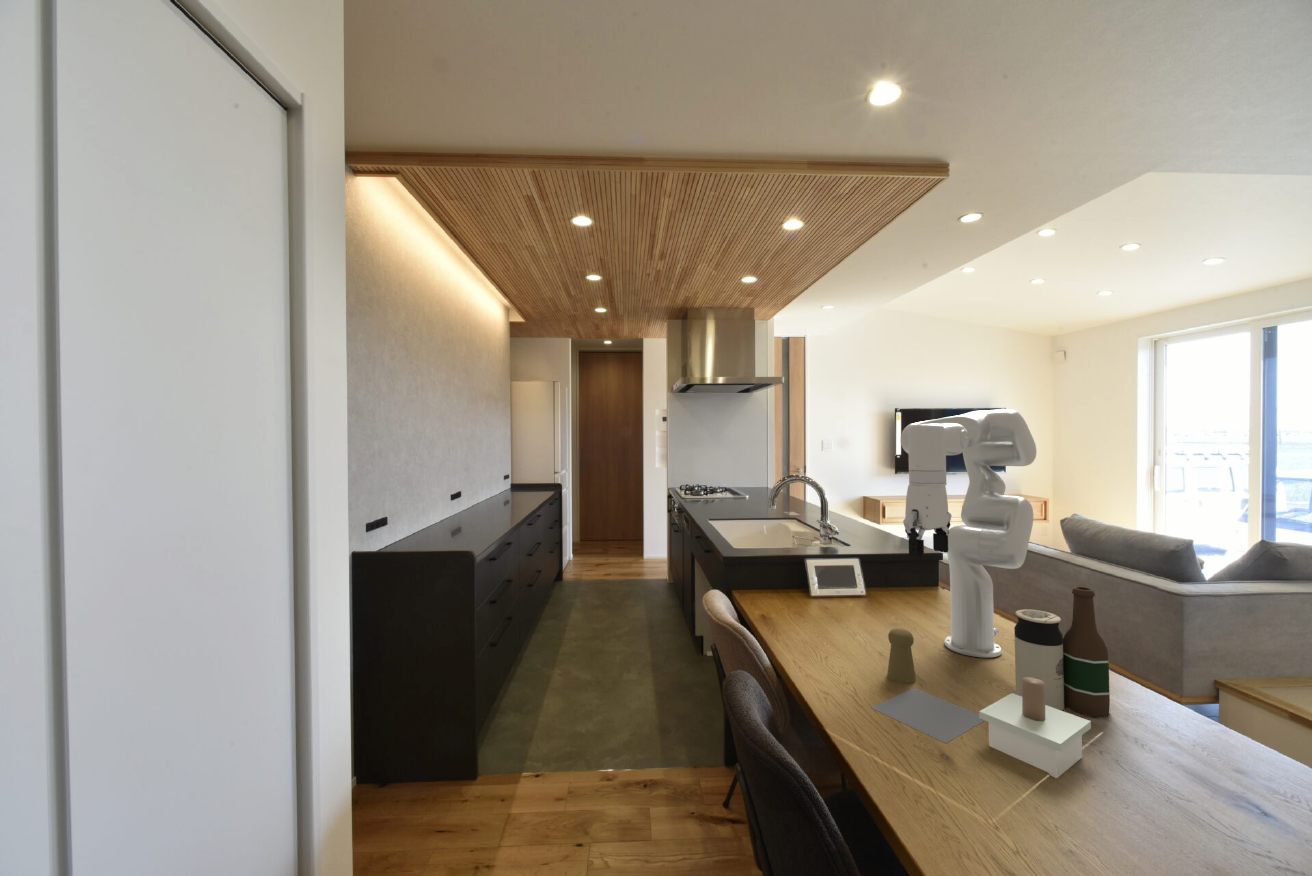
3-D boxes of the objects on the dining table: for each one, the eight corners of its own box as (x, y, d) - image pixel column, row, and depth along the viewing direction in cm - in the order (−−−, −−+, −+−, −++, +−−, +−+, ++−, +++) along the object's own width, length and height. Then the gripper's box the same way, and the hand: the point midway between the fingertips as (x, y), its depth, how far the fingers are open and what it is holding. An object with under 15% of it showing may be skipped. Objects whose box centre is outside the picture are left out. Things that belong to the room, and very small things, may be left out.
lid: (1011, 699, 98) (1011, 660, 98) (1090, 728, 88) (1090, 685, 88) (979, 718, 92) (978, 677, 92) (1060, 751, 82) (1059, 705, 82)
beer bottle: (1100, 702, 106) (1097, 584, 107) (1120, 721, 99) (1117, 595, 99) (1054, 696, 109) (1052, 581, 109) (1070, 715, 101) (1068, 592, 102)
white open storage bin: (1015, 730, 97) (1015, 703, 97) (1082, 757, 88) (1081, 727, 88) (988, 747, 91) (988, 719, 91) (1056, 778, 83) (1055, 746, 83)
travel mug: (1007, 698, 108) (1005, 611, 109) (1031, 690, 112) (1029, 606, 112) (1048, 716, 101) (1046, 623, 101) (1073, 708, 104) (1071, 618, 104)
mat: (914, 689, 113) (914, 687, 113) (988, 720, 100) (988, 718, 100) (871, 709, 105) (870, 707, 105) (946, 745, 92) (945, 743, 92)
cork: (919, 686, 114) (918, 636, 114) (890, 684, 116) (889, 634, 116) (912, 674, 120) (911, 626, 120) (884, 672, 121) (883, 625, 122)
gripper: (932, 475, 125) (933, 547, 125) (889, 479, 116) (890, 556, 116) (964, 477, 119) (966, 552, 119) (921, 481, 110) (923, 562, 110)
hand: (928, 554), depth 117 cm, fingers open, 9 cm apart
